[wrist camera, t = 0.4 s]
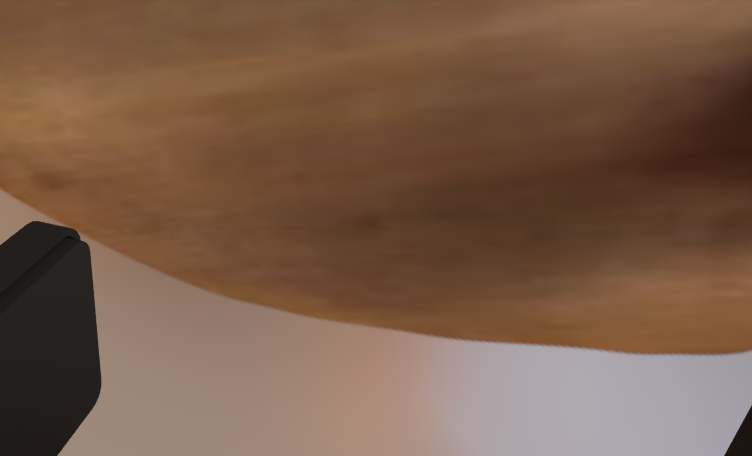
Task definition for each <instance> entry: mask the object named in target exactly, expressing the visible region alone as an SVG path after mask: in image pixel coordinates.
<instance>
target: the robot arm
mask: <svg viewBox="0 0 752 456" xmlns="http://www.w3.org/2000/svg"><path fill="white" fill-rule="evenodd" d="M100 389H101V371H100V359H99V349H98V337H97V325H96V314H95V302H94V290H93V279H92V267H91V256H90V249H89V246H88V244H87V243H85V242H84V241H81V240H80V236H79V234H78V232H77V231H76V230H74V229H72V228H67V227H63V226H58V225H53V224H48V223H44V222H39V221H32V222H30V223H29V224H27V225H25V226H24V227H23V228H22V229H20V230H19V231H18V232H17V233H15V234H14V235H13V236H11V237H10V238H9V239H8V240H6V241H5V242H4V243H3V244H1V245H0V456H57V455H58V454H59V453H60V451H61V450H62V449H63V447H64V446H65V445H66V443H67V442H68V441H69V439H70V438H71V437H72V435H73V434H74V433H75V431H76V430H77V428H78V427H79V426H80V424H81V423H82V422H83V420H84V419H85V418H86V416H87V415H88V414H89V413H90V411H91V410H92V408H93V407H94V405H95V404H96V401H97V399H98V397H99V394H100ZM724 456H752V406H751V408H750V410H749V412H748V413H747V415H746V417H745V419H744V421H743V422H742V424H741V426H740V428H739V430H738V432H737V433H736V435H735V437H734V439H733V441H732V443H731V444H730V446H729V448H728V450H727V452H726V454H725V455H724Z"/></svg>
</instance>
